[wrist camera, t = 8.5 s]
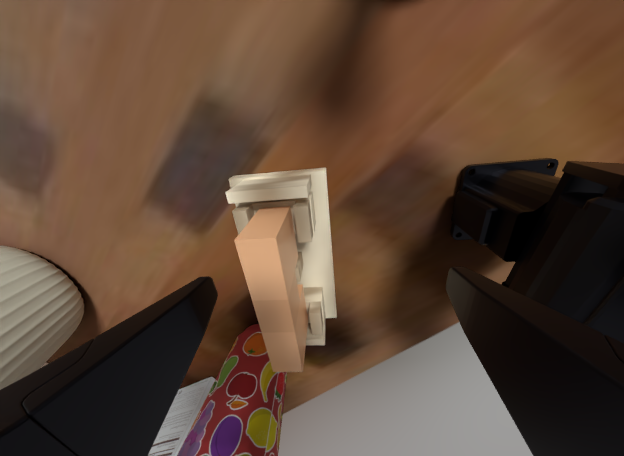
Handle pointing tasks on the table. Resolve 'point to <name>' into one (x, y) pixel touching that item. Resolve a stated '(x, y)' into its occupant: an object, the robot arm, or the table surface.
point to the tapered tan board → (275, 285)
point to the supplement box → (181, 418)
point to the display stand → (297, 232)
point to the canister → (33, 312)
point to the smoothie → (241, 405)
